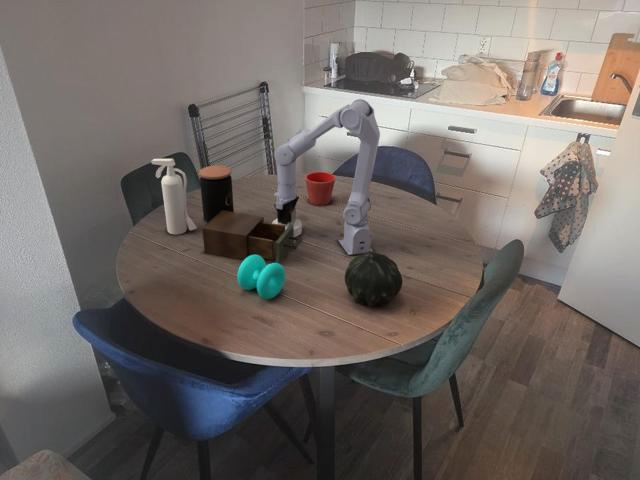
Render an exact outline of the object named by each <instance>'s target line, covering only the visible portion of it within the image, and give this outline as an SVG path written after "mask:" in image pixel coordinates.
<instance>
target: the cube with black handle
mask: <svg viewBox="0 0 640 480" xmlns="http://www.w3.org/2000/svg"><path fill="white" fill-rule="evenodd" d="M276 213H277V214H276V215H277V218H278V224H281V222H280V218H279V215H278V212H277V211H276ZM296 219H297V208H296V207H295V208H291V210H290V213H289V219H288V224H287V226H289V225H293V224H294V223H295V222H296ZM281 225H286V224H281Z"/></svg>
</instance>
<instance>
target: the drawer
mask: <svg viewBox="0 0 640 480" xmlns="http://www.w3.org/2000/svg"><path fill="white" fill-rule="evenodd" d="M247 241H248V255H259V256H261V257H262V258H263V259H267V260H272V261H273V260H274V258H275V263H278V264H281V262H282V261H283V260H284V258H285V257H286V255H287V254H288V253H289V251H290V250H291V249H292V250H293V251H296V250H297V249H298V247H299V246H300V244H302V241H303V237H302V236H298V237H294V225H289V227H288V228H287V229H286V230H285V225H279V224H273V223H272V222H266V221H264V222H261V223H260V224H259V225H258V226H257V227H256V228H255V229H254V230H253V231H252V232H251V233H250V235H249V236H248V237H247Z"/></svg>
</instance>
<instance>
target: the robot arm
mask: <svg viewBox="0 0 640 480" xmlns="http://www.w3.org/2000/svg"><path fill="white" fill-rule="evenodd" d="M334 128H337V129H342V128H344V129H346V130H347V131H349V132H350V133H352V134H354V135H355V136H356V137H357V138H358V140H359V141H360V143H359V149H358V154H357V159H356V160H357V161H356V165H355V171H354V177H353V182H352V189H351V193H350V196H349V197H348V201H347V204H346V206H345V208H344V209H343V211H342V217H343V220H344V224H343V225H344V226H343V239H338V242H339V244H340V245H341V246H342V248H343V249H344V251H345V252H346V254H347V255H349V256H353V255H361V254H364V253H366V252H369V251H372V252H374V250H373V249H372V247H371V243H372V232H371V230H370V228H369V216H368V213H369V212H370V211H371V209H372V202H371V192H370V190H371V189H370V188H371V184H372V179H373V173H374V167H375V163H376V157H377V153H378V148H379V144H380V143H379V142H380V137H381V131H380V128H379V125H378V122H377V119H376V117H375V108H374V107H372V106H371V105H370V103H369V101H367V100H365V99H364V98H363V99H361V98H359V99H355V100H354V101H353V102H352V103H350V104H349V103H348V104H345V106H343V107H341V108H339V109H337V110H335V111H334V112H332V113H331V114H330V115H329V116H327V117H326V118H324V119H323V120H321V122H319V123H318V124H317V125H316V126H314V127H313V128H311V129H307V128H304V129H299V130H297V131H296V132H295V135H294V136H293V137H291V138H290V139H289V138H287V139H286V140H285V141H284V143H283V144H282V145H280V146H278V147H277V148H276V149H275V151H274V153H273V156H274V160H275V162H276V163H277V191H276V192H275V193H274V194H273V195H274V197H276V202H275V203H274V204H273V207H274V209H275V211H276V213H277V212H278V215H279V218H280V222H281V224H286V225H287V224H288V219H289V213H290V210H291V208H296V206H297V203H298V201H299V199H300V197H299V196H298V195H297V193H298V187H297V181H296V180H297V174H296V173H297V167H296V166H297V162H296V161H297V159H298V158H299V157H300V156H302V155H304V154H305V153H306V152H308V151H310V150H311V149H312V148H313V147H315V146H316V143H317V139H318V138H320V137H322V136H323V135H325V134H326V133H328V132H330V131H331V130H332V129H334Z"/></svg>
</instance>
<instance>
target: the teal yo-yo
mask: <svg viewBox="0 0 640 480" xmlns="http://www.w3.org/2000/svg"><path fill="white" fill-rule="evenodd" d="M236 277H237V282H238V285H239V286H240V288H241V289H243V290H246V291H251V290H254V289H256V291H257V294H258V295H259V297H261V298H262V299H265V300H270V299H273V298H275V297H277V296H278V294H280V292H281V290H282V289H283V287H284V285H285V283H286V271H285V268H284V267H283V265H282V264H281V263H276V262H272V263H268V264H266V261H265V258H262V257H261V256H259V255H250V256H248V257H247V258H246V259H245V260H242V262H241V264H240V265H239V268H238V270H237V276H236Z"/></svg>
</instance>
